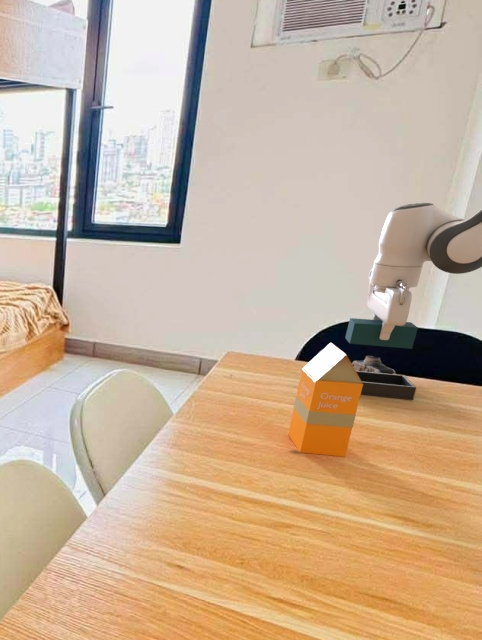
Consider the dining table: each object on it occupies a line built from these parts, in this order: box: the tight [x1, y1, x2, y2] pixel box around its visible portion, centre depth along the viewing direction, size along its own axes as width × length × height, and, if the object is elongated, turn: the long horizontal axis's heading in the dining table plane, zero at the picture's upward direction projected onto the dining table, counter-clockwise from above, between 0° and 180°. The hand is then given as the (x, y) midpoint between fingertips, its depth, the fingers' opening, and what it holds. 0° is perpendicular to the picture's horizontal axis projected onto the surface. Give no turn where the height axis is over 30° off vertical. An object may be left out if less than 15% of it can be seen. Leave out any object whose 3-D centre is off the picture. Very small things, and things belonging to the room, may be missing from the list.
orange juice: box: [287, 342, 363, 458], centre depth 120 cm, size 8×9×20 cm
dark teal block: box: [345, 317, 419, 350], centre depth 148 cm, size 12×6×5 cm, turn 65°
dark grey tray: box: [356, 371, 417, 401], centre depth 152 cm, size 16×10×3 cm, turn 65°
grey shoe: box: [351, 355, 397, 375], centre depth 163 cm, size 5×10×4 cm, turn 2°
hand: (379, 335), depth 148 cm, fingers closed on dark teal block, 5 cm apart
